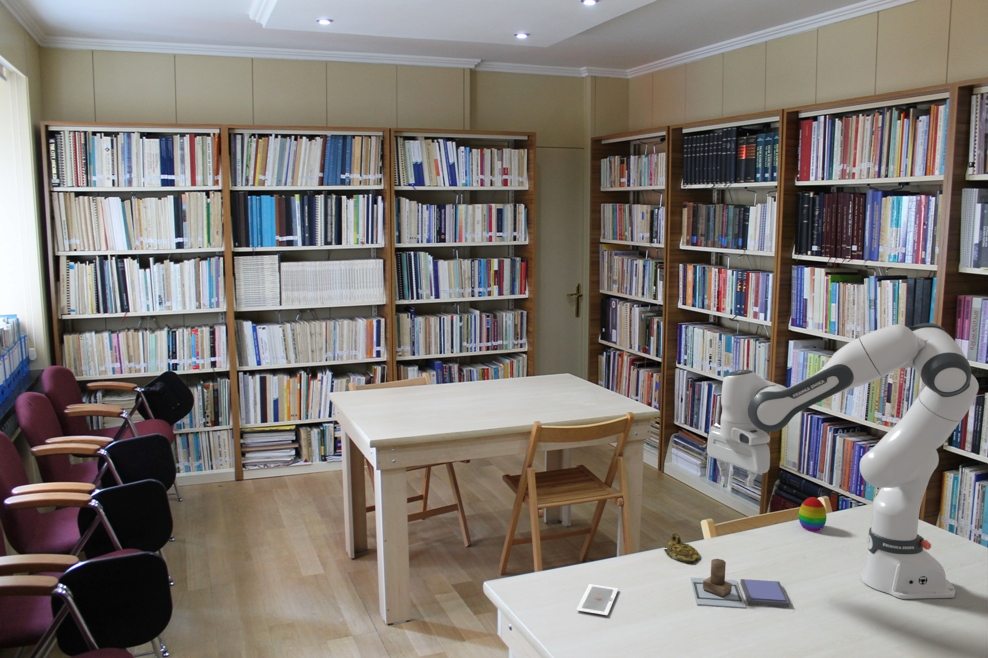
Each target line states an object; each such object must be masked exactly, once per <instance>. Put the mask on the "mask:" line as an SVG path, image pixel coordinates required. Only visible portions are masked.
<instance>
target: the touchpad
mask: <svg viewBox="0 0 988 658" xmlns="http://www.w3.org/2000/svg"><path fill="white" fill-rule="evenodd" d="M618 591H619V588H617V587H612V586H605V585H598V584H592V583H589V584H588V586H587V588H586V590H585V591H584V593H583V596H582V598H581V599H580V602H579V603H578V605H577V607H576V609H575V611H580V612H586V613H592V614H598V615H604V616H608V615H609V613H610V611H611V608H612V605H613V603H614V601H615V598H616V595H617V594H618Z"/></svg>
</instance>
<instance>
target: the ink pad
mask: <svg viewBox="0 0 988 658" xmlns="http://www.w3.org/2000/svg"><path fill="white" fill-rule="evenodd" d="M739 582H740V585H741V589H742V592H743V594H744V597H745V598H746V602H747V604H748V605H749V606H763V607H764V606H765V607H778V608H779V607H780V608H790V601H789V599H788V596H787V595H786V593H785V591H784V588H783V585H782V584H781V582H780V581H776V580H762V579H761V580H759V579H758V580H757V579H745V578H744V579H743V578H740V581H739Z"/></svg>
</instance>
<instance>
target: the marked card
mask: <svg viewBox="0 0 988 658" xmlns="http://www.w3.org/2000/svg"><path fill="white" fill-rule="evenodd" d="M707 578H708V577H707ZM707 578H704V577H692V576H691V577H690V582H691V586H692V591H693V594H694V598H695V603H696V606H706V607H707V606H708V607H720V608H721V607H722V608H734V609H735V608H737V609H747V606H746V604H745V602H744V601H745V600H744V598H743V596H742V593H741V591H740V588H739V585H738V583H737V580H736V579H725V581H726V582H729V583H732V590H731V592H730V594H728V595H727V596H725V597H724V598H722V597H719V596H717V595H714V594H711V593H709V592H706V591H704V589H703V581H704V580H706V579H707Z"/></svg>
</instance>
